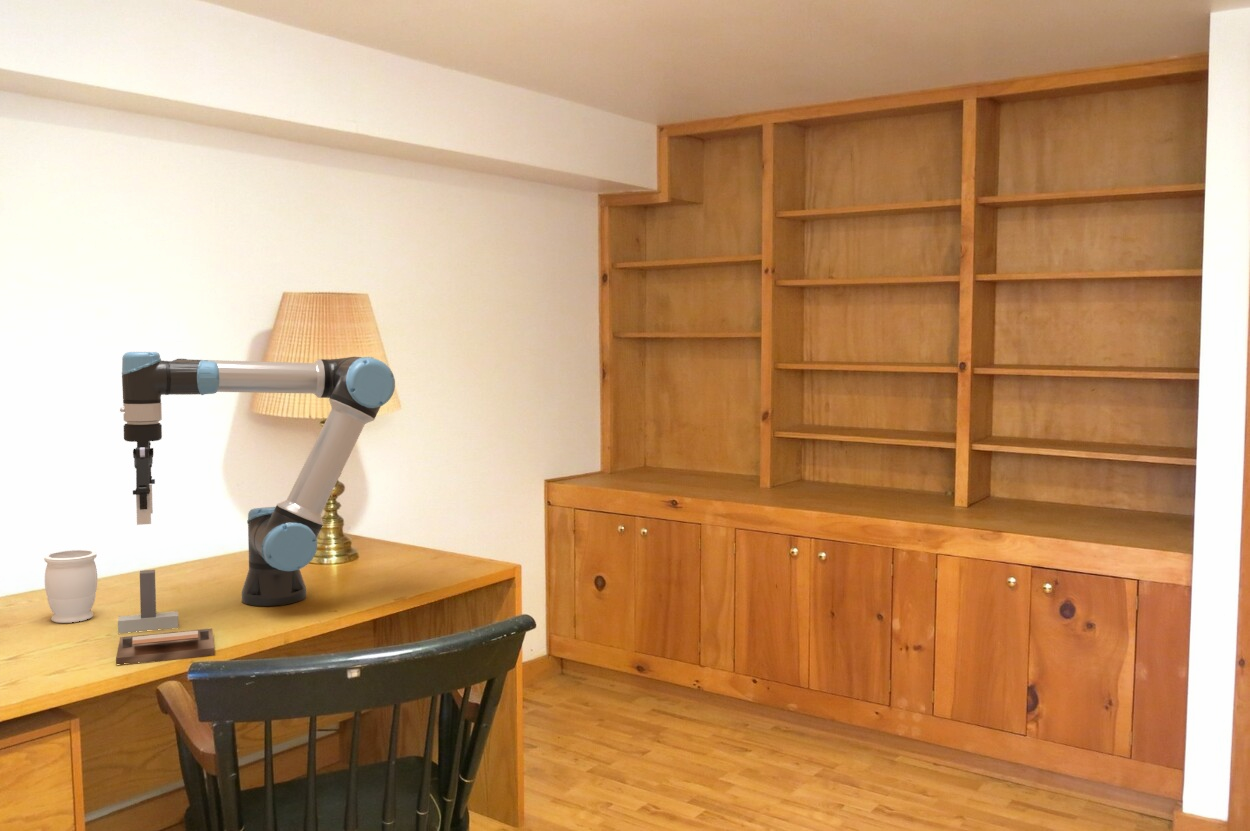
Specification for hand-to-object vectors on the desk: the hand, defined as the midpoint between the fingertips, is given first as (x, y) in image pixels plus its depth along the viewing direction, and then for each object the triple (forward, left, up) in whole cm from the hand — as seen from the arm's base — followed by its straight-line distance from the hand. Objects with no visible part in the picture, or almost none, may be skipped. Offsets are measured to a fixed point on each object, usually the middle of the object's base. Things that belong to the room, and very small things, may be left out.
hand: (145, 518), depth 223 cm
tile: (-4, +21, -20) cm, 30 cm away
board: (-4, +18, -25) cm, 31 cm away
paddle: (0, 0, -25) cm, 25 cm away
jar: (+16, -15, -25) cm, 33 cm away
